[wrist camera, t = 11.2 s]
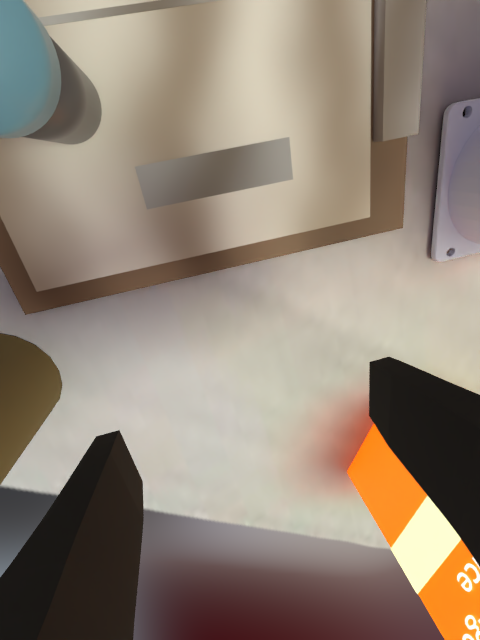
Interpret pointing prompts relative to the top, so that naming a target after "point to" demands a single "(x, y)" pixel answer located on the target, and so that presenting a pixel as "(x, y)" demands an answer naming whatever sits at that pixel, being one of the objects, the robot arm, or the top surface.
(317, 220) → the clipboard
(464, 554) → the orange juice
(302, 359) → the top surface
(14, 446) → the cork
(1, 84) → the marker
